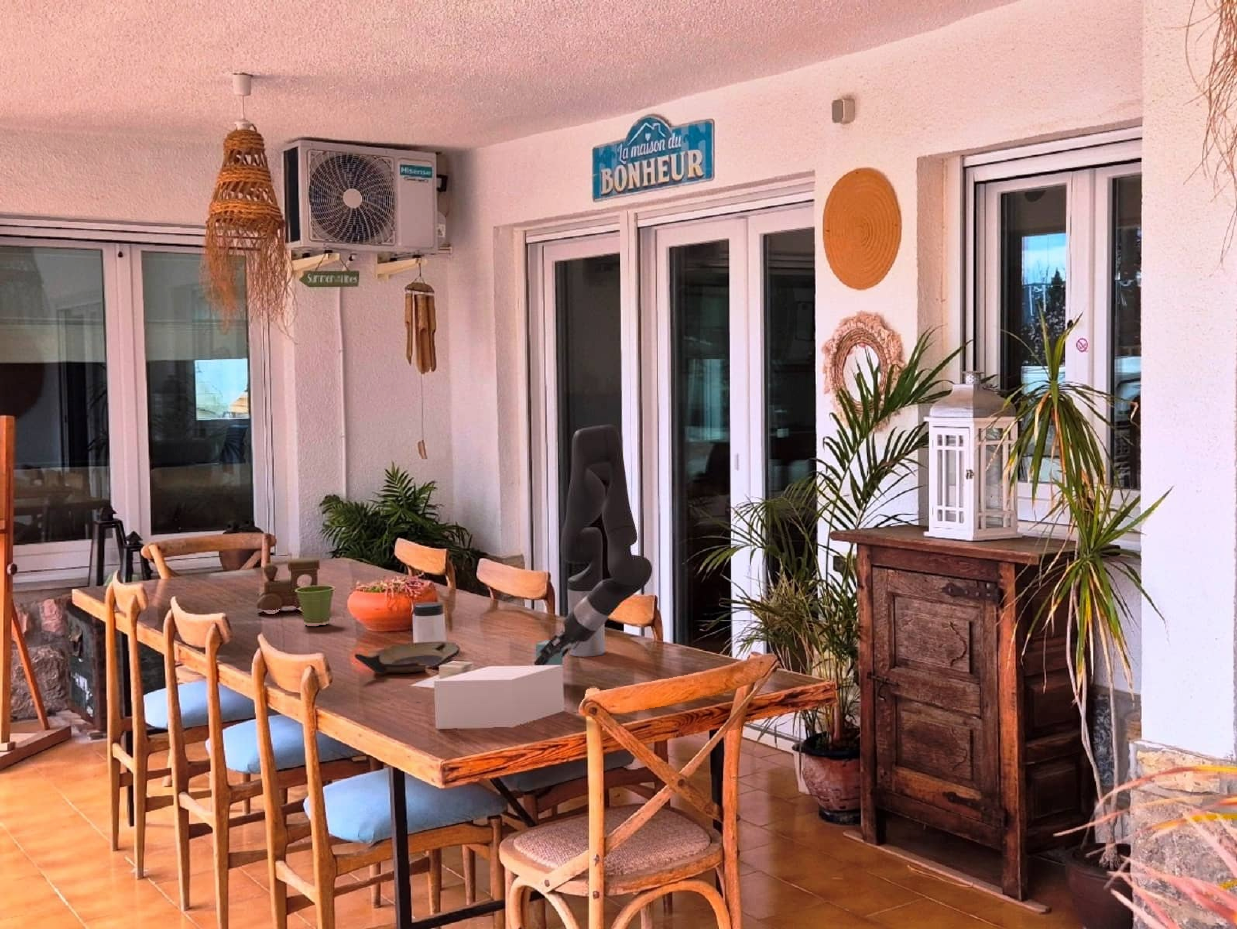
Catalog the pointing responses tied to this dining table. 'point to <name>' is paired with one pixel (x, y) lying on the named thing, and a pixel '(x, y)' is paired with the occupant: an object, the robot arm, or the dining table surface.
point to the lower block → (455, 668)
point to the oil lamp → (410, 657)
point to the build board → (427, 682)
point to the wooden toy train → (286, 583)
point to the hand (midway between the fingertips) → (546, 662)
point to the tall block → (556, 659)
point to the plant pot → (315, 603)
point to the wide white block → (498, 696)
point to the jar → (428, 622)
